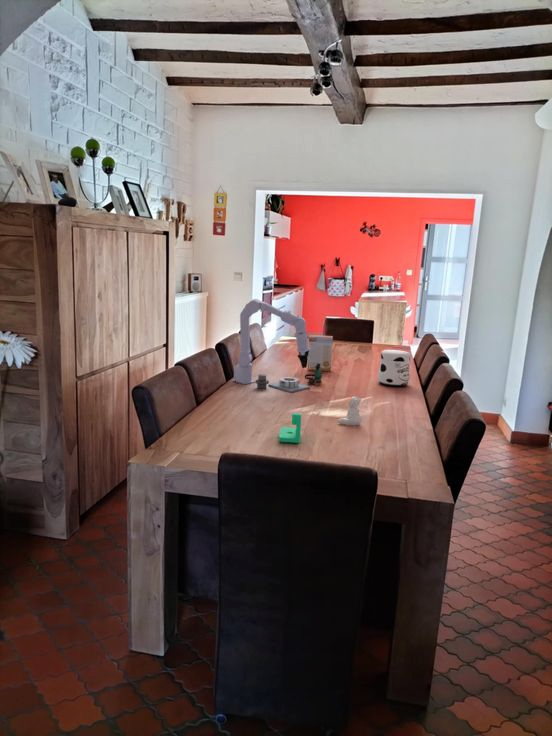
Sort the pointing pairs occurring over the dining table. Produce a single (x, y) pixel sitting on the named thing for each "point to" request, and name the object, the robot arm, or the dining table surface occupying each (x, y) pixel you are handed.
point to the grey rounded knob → (261, 381)
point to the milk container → (394, 368)
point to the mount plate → (300, 387)
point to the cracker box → (320, 352)
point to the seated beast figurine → (352, 413)
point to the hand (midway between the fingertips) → (304, 366)
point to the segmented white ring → (289, 382)
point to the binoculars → (317, 376)
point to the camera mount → (291, 430)
